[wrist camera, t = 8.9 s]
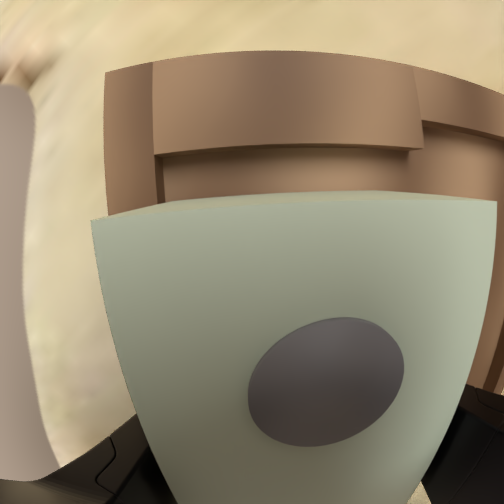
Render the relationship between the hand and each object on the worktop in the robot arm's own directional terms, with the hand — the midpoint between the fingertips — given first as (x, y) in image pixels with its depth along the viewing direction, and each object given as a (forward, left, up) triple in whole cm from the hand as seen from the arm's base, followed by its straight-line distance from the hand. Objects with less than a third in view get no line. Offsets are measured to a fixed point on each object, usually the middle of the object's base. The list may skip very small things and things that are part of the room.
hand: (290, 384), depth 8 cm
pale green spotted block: (0, 0, -1) cm, 1 cm away
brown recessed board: (-4, 0, -3) cm, 5 cm away
